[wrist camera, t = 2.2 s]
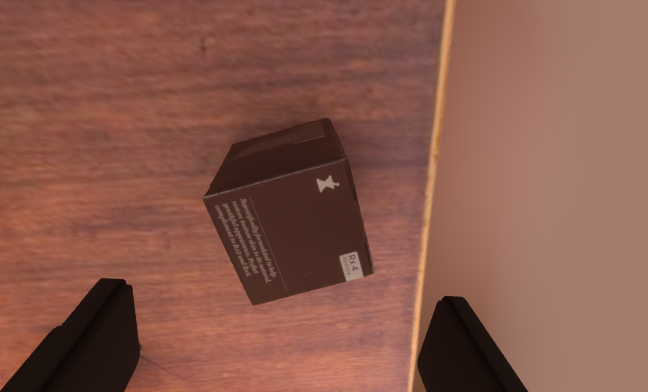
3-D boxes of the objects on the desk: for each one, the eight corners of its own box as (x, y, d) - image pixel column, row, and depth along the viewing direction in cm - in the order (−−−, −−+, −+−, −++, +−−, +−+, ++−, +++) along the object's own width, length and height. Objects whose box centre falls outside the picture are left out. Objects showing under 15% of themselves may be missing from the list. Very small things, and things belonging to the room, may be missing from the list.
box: (230, 141, 19) (197, 194, 13) (330, 115, 19) (349, 154, 13) (263, 228, 22) (250, 309, 15) (352, 205, 22) (377, 277, 15)
